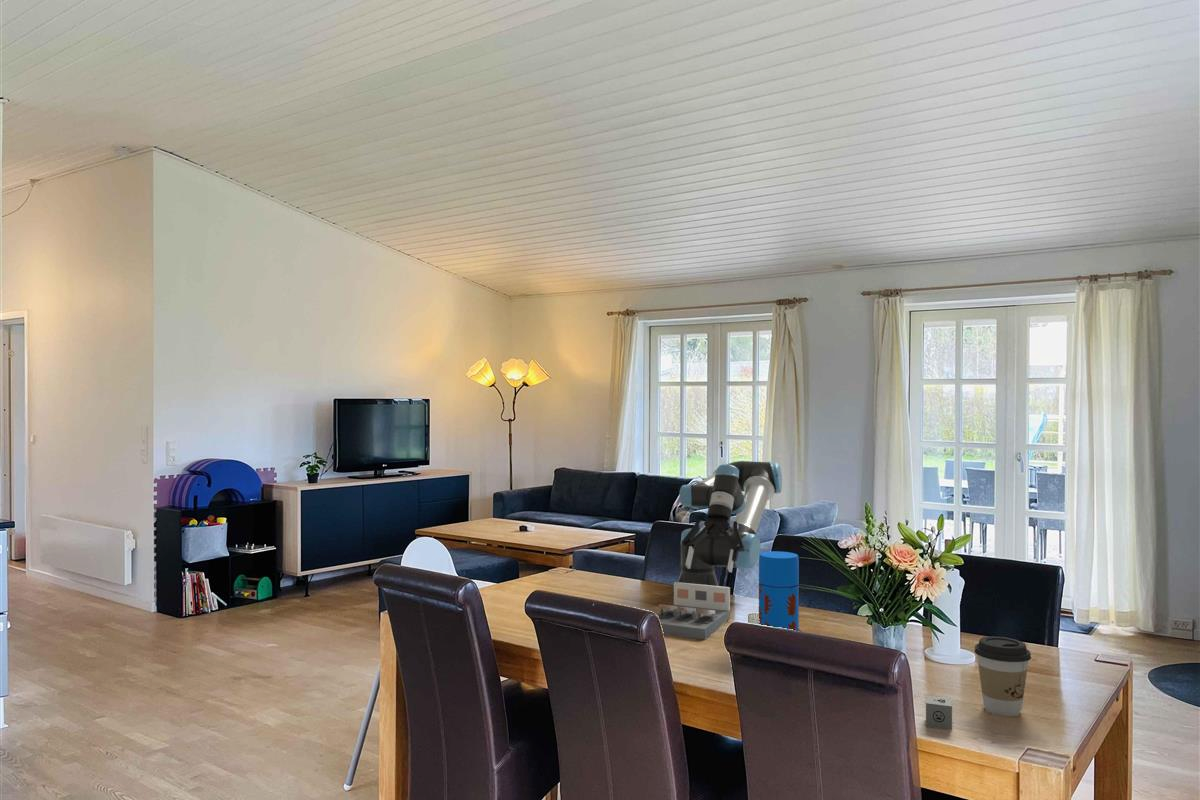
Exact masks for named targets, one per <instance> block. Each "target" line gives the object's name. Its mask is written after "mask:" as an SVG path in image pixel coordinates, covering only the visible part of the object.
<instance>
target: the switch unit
mask: <svg viewBox="0 0 1200 800" xmlns="http://www.w3.org/2000/svg"><path fill="white" fill-rule="evenodd" d="M671 606H677V609H673V610H665V609H659V613H658V614H657V615H658V616H659V619H660V622H661V625H662V628H663V632H664V634H663V635H666V636H667V635H668V636H673V635H674V636H675V637H680V636H681V637H682V638H688V637H689V639H696V638H697V639H698V640H703V639H704V641H705V640H707V639H708V638H709V637H710V636H712V635H713V634H714V633H715V632H716V630H717V629H718V628H719V627H720V626H721V625H722V624H723V623H724V622H726V621H727V620H729V619H730V620H731V617H730V616H731V609H730V608H731V587H729V586H722V585H721V586H720V585H719V586H711V585H701V584H691V583H681V582H678V581H674V582H673V605H671ZM678 607H688V608H696V611H693V612H683V611H678ZM697 609H705V610H714V611H715V613H712V615H711V614H700V613H697ZM730 620H729V621H730ZM726 623H727V622H726ZM721 627H722V626H721ZM721 627H720V628H721ZM720 628H719V629H720ZM719 629H718V630H719ZM718 630H717V631H718ZM713 632H714V633H713ZM712 633H713V634H712ZM711 634H712V635H711ZM706 638H707V639H706ZM697 639H696V640H697Z"/></svg>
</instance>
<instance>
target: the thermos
mask: <svg viewBox="0 0 1200 800" xmlns="http://www.w3.org/2000/svg"><path fill="white" fill-rule="evenodd" d="M799 565H800V562H799V555H798V554H797V553H795V552H789V551H778V550H777V551H775V550H774V551H771V550H770V551H764V552H760V553H759V559H758V625H759V624H761V625H767V626H773V627H782V628H787V629H793V630H796V631H800V630H799V629H800V627H799V625H800V624H799V623H800V622H799V621H800V620H799V619H800V618H799V613H800V610H799V609H800V608H799V607H800V605H799V604H800V603H799V602H800V601H799V598H800V597H799V594H800V593H799V591H800V590H799V589H800V587H799V586H800V585H799V583H800V581H799V579H800V574H799V573H800V572H799V571H800V570H799V569H800V568H799V567H800V566H799ZM759 619H760V620H759ZM759 621H760V623H759Z"/></svg>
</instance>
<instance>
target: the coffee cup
mask: <svg viewBox="0 0 1200 800" xmlns="http://www.w3.org/2000/svg"><path fill="white" fill-rule="evenodd" d="M973 651H974V654H976V656H977V664H978V671H979V679H980V686H981V693H982V694H981V695H982V702H983V706H984V710H985V711H986V712H987V713H990V714H992V715H994V716H1000V717H1007V718H1008V717H1009V718H1013V717H1017V716H1020V714H1021V711H1022V710H1023V703H1024V702H1023V701H1024V695H1025V688H1026V680H1027V675H1028V674H1027V673H1028V667H1029V661H1030V660H1031V659H1032V654H1031V651H1030V650H1029V649H1027V645H1026V643H1025V642H1023V641H1021V640H1018V639H1016V638H1011V637H1006V636H995V635H994V636H984V637H981V638H980V639H978V643H976V644H975V645H974V650H973Z"/></svg>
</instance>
